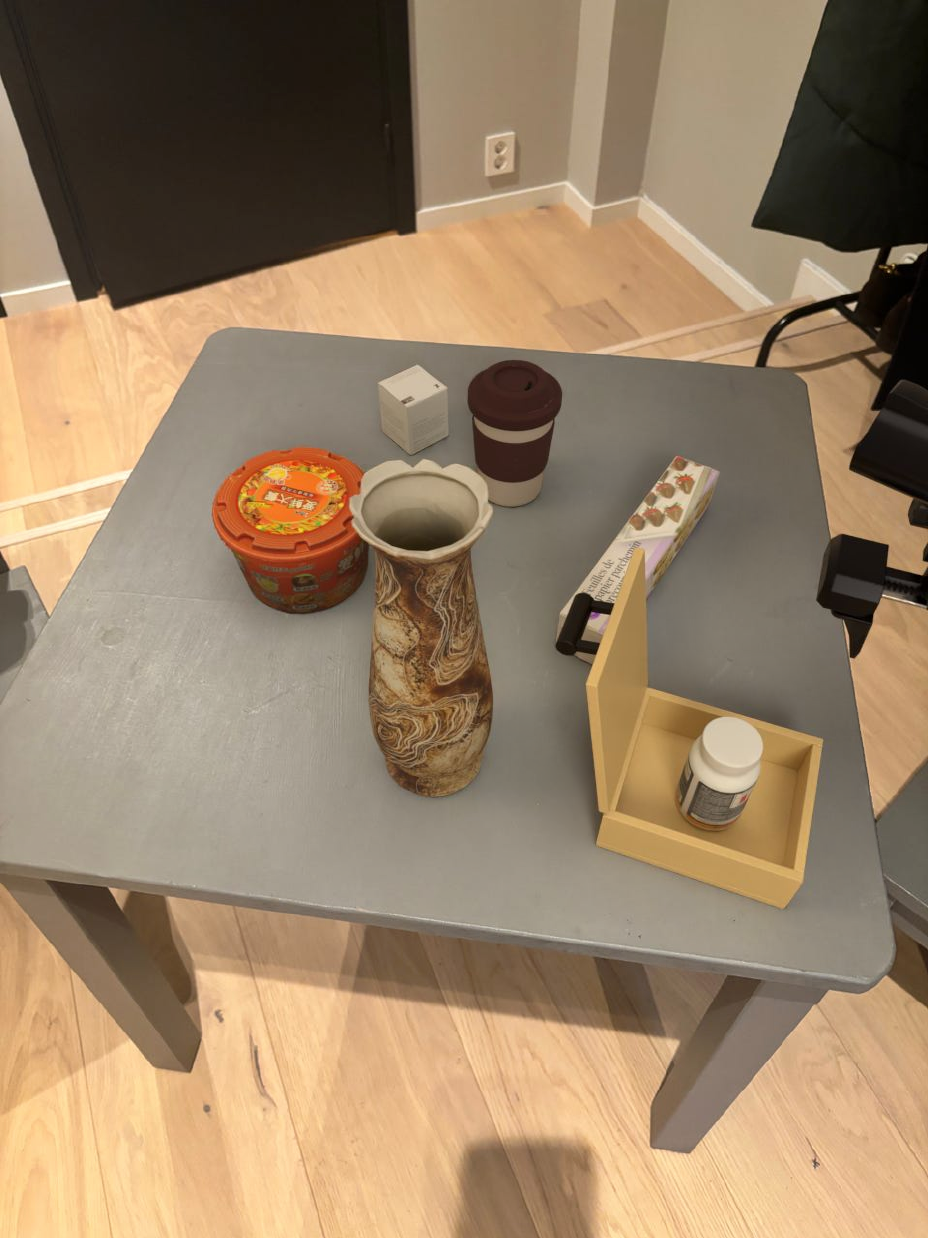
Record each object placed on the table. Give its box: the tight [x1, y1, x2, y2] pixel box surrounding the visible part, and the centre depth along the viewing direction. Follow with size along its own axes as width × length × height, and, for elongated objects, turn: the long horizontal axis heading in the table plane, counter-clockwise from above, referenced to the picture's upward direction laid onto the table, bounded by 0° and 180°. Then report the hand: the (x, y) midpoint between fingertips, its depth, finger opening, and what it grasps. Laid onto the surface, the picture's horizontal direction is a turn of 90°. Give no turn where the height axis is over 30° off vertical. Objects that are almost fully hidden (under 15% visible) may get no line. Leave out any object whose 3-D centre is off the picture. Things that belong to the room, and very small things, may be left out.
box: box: [554, 455, 720, 665], centre depth 93 cm, size 27×5×6 cm, turn 147°
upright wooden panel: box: [554, 548, 649, 814], centre depth 70 cm, size 16×14×4 cm
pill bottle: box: [676, 717, 763, 831], centre depth 73 cm, size 6×6×10 cm
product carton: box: [377, 364, 450, 456], centre depth 107 cm, size 6×6×7 cm
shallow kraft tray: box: [595, 686, 824, 910], centre depth 76 cm, size 16×14×5 cm
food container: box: [211, 446, 370, 615], centre depth 92 cm, size 16×16×11 cm
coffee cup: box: [467, 359, 563, 508], centre depth 98 cm, size 10×10×15 cm
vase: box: [349, 458, 494, 798], centre depth 70 cm, size 10×11×30 cm
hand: (912, 670), depth 71 cm, fingers open, 9 cm apart
